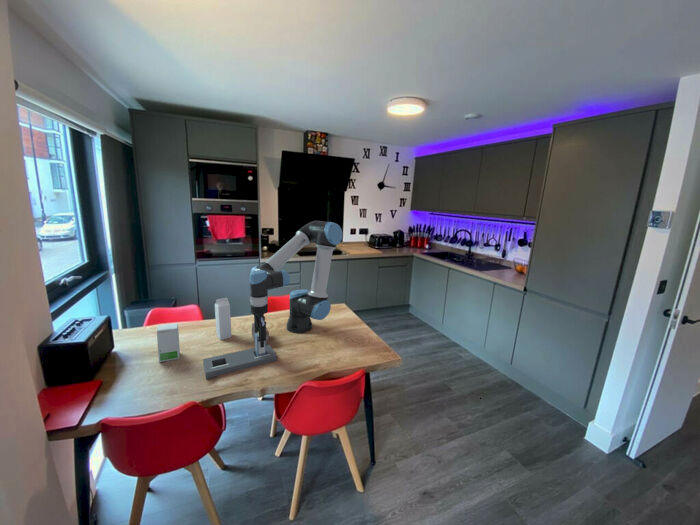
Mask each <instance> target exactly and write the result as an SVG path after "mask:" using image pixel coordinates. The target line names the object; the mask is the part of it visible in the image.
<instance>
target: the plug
mask: <svg viewBox="0 0 700 525" xmlns="http://www.w3.org/2000/svg"><path fill="white" fill-rule="evenodd" d="M257 340H259V332H258V333H255V342H254V345H255V346H254V348H255V354H256V357H258V356H262V355H266V345H267V344H266V341H265V353H261V354H259V343H258V341H257Z"/></svg>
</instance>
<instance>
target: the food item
mask: <svg viewBox="0 0 700 525" xmlns="http://www.w3.org/2000/svg"><path fill="white" fill-rule="evenodd" d="M251 336H252V339H253V342H254V343H255V326H254V322H253V323H251ZM269 340H270V332H269V330H268V328H267V327H266V345H268V344H269Z"/></svg>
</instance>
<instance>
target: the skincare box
mask: <svg viewBox="0 0 700 525" xmlns="http://www.w3.org/2000/svg"><path fill="white" fill-rule="evenodd" d="M179 332H180V330H179V322H178V323H168V324H160V325H157V328H156V340H157V353H158V354H157V355H158V363H162V362H169V361H174V360H180V353H181V352H180V336H179V335H180V333H179Z"/></svg>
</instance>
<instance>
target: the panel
mask: <svg viewBox="0 0 700 525" xmlns="http://www.w3.org/2000/svg"><path fill="white" fill-rule="evenodd" d="M277 359H278V358H277V354H276V353H275V350H273V347H272V346H271V344H266V355H262V356H258V357H256V354H255V347H252V348H247V349H244V350H243V349H242V350H238V351H235V352H230V353H224V354H221V355H215V356H211V357H207V358H203V359H202V361H203V362H202V363H203V368H204V369H203V370H204V374H205V380H208V379H213V378H217V376H222V375H225V374H230V373H233V372H237V371H241V370H245V369H249V368H254V367H257V366H262V365H266V364H269V363H274V362H277Z"/></svg>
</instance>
